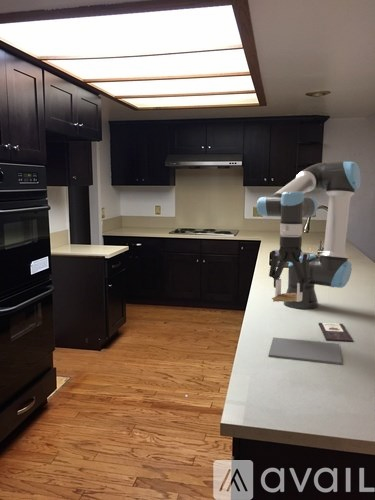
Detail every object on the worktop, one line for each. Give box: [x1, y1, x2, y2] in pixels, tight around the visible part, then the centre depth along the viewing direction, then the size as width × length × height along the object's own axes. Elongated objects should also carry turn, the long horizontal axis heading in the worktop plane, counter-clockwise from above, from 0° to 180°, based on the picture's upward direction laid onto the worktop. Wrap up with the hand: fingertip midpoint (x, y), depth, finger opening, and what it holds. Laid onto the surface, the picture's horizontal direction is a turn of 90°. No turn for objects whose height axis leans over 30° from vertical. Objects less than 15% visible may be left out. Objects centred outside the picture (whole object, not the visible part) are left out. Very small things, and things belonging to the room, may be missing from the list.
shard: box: [271, 292, 297, 303], centre depth 149 cm, size 11×8×2 cm
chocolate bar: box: [318, 322, 354, 343], centre depth 152 cm, size 9×1×18 cm
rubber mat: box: [268, 337, 343, 365], centre depth 135 cm, size 16×22×1 cm
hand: (288, 298), depth 147 cm, fingers closed on shard, 8 cm apart
